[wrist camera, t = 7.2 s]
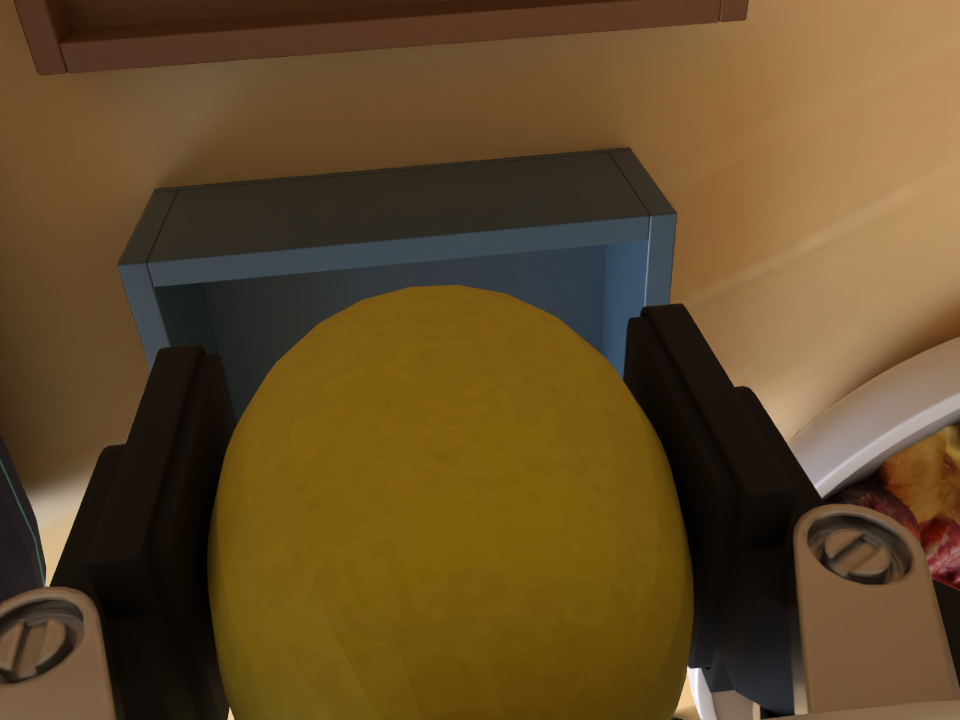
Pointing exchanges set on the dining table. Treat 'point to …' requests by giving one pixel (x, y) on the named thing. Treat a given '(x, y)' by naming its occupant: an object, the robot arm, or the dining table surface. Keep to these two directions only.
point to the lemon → (448, 526)
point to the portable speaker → (17, 535)
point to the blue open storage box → (396, 251)
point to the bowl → (884, 470)
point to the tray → (316, 26)
